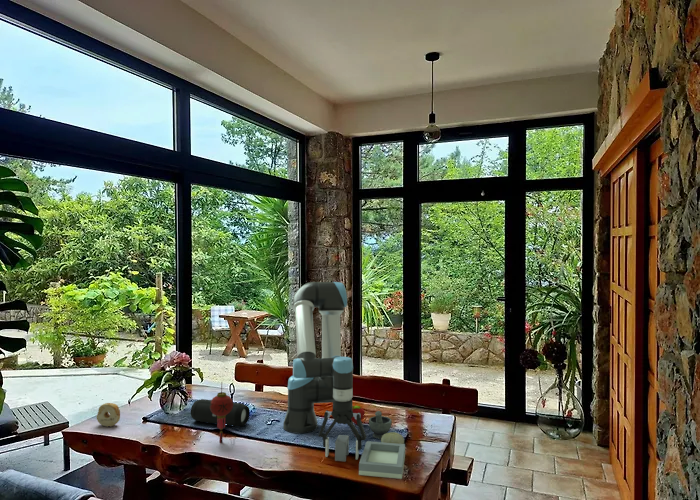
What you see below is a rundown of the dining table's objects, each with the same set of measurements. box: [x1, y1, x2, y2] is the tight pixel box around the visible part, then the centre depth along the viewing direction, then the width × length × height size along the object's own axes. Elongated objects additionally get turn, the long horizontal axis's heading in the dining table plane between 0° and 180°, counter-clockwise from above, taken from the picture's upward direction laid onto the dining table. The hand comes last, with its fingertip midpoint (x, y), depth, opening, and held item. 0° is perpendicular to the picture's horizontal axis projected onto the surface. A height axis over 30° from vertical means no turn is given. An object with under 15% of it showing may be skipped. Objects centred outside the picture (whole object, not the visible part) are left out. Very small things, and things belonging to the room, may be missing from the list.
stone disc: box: [96, 402, 121, 427], centre depth 208 cm, size 10×4×10 cm, turn 79°
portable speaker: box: [190, 398, 251, 427], centre depth 212 cm, size 26×10×10 cm, turn 74°
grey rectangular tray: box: [358, 440, 406, 480], centre depth 172 cm, size 15×20×4 cm
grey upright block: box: [334, 434, 350, 462], centre depth 178 cm, size 4×7×7 cm, turn 170°
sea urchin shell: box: [380, 431, 405, 444], centre depth 189 cm, size 9×8×8 cm
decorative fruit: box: [351, 402, 366, 426], centre depth 212 cm, size 6×8×10 cm
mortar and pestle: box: [368, 410, 393, 440], centre depth 198 cm, size 11×9×12 cm
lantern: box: [210, 383, 233, 444], centre depth 190 cm, size 10×10×30 cm
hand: (342, 456), depth 177 cm, fingers open, 11 cm apart
